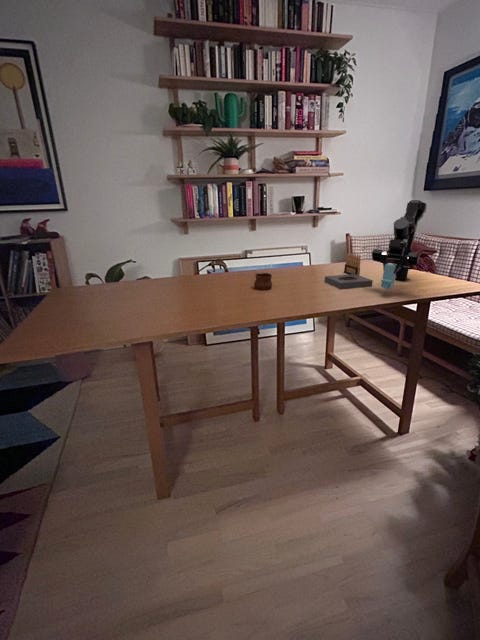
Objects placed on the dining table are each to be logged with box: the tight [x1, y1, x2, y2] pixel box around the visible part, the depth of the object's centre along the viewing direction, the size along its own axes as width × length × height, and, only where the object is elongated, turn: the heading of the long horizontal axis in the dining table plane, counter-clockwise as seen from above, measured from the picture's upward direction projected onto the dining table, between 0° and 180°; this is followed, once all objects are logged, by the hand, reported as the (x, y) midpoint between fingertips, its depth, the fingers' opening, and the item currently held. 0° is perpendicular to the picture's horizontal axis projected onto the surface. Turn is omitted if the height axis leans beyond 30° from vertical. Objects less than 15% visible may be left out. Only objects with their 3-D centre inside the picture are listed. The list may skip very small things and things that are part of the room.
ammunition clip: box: [343, 252, 361, 276], centre depth 176 cm, size 11×2×12 cm, turn 22°
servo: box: [380, 262, 397, 290], centre depth 140 cm, size 11×4×11 cm, turn 144°
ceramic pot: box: [253, 272, 275, 291], centre depth 151 cm, size 18×18×7 cm
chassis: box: [323, 274, 374, 290], centre depth 159 cm, size 18×14×3 cm
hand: (389, 272), depth 138 cm, fingers closed on servo, 4 cm apart
